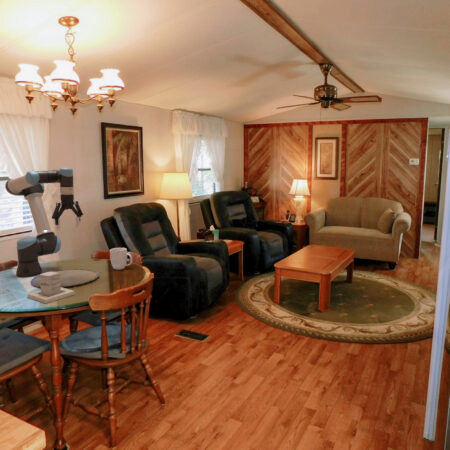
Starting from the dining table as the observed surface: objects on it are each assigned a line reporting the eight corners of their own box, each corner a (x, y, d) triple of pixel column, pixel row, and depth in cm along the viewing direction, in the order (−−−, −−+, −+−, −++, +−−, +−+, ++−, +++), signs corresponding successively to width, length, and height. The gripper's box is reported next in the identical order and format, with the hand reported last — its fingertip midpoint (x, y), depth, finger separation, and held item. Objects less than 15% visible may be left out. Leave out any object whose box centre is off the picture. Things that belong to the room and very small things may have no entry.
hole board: (27, 297, 225) (27, 293, 224) (56, 289, 239) (55, 285, 238) (45, 303, 215) (45, 299, 215) (74, 294, 229) (74, 291, 229)
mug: (135, 266, 286) (134, 248, 284) (129, 271, 275) (128, 251, 273) (114, 266, 288) (113, 247, 286) (107, 270, 277) (106, 250, 275)
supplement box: (40, 297, 225) (38, 274, 223) (51, 293, 232) (50, 270, 230) (50, 299, 222) (49, 275, 220) (61, 294, 229) (60, 272, 226)
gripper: (52, 195, 240) (53, 232, 244) (88, 192, 260) (89, 226, 264) (44, 194, 244) (46, 230, 248) (80, 192, 264) (81, 225, 268)
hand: (68, 228), depth 256 cm, fingers open, 13 cm apart
